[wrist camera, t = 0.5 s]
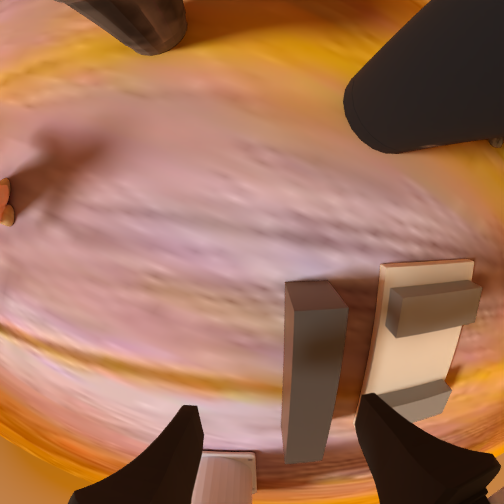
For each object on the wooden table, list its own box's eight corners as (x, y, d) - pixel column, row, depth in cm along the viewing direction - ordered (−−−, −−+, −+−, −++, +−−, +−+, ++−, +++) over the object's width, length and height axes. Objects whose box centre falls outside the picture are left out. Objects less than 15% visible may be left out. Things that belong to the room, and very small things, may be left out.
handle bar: (313, 420, 23) (322, 460, 18) (280, 423, 23) (284, 464, 18) (327, 279, 19) (348, 307, 15) (284, 281, 19) (294, 311, 15)
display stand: (428, 404, 22) (440, 421, 19) (352, 423, 22) (360, 444, 20) (467, 258, 19) (489, 267, 16) (380, 263, 19) (399, 276, 16)
